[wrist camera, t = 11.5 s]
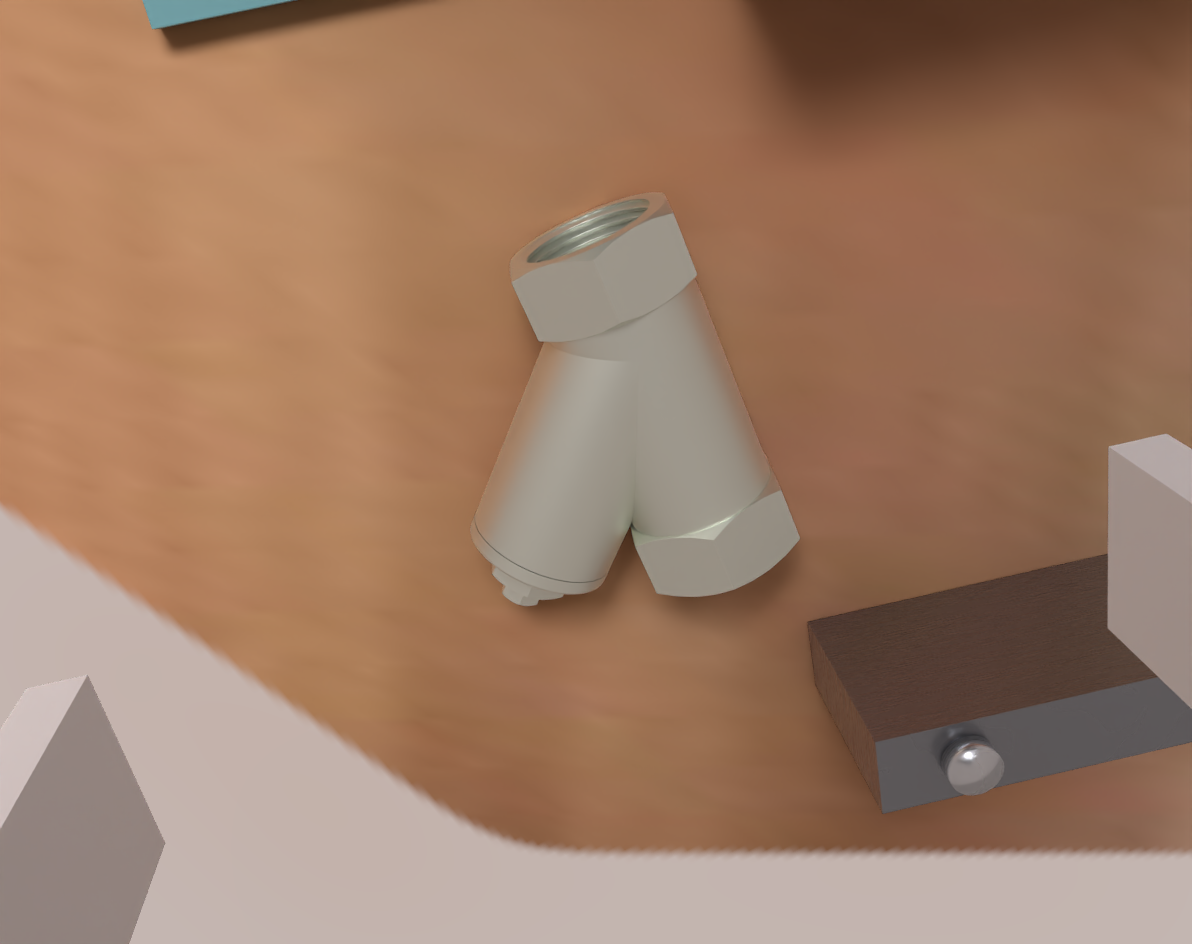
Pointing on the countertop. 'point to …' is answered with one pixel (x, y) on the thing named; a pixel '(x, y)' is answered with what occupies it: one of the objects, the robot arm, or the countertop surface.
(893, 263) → the countertop surface
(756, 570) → the pipe fitting
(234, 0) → the mat
